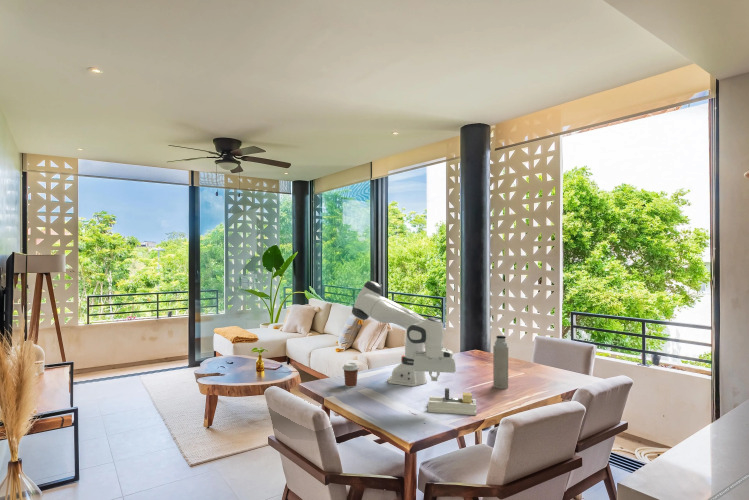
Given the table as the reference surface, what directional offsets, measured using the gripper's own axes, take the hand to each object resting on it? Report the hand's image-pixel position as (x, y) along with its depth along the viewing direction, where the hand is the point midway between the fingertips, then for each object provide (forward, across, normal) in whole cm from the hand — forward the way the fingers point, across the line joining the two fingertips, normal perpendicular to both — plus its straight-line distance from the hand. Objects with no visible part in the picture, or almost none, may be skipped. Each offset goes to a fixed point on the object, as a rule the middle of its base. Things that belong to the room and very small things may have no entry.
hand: (434, 380), depth 211 cm
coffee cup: (+13, -47, +26) cm, 56 cm away
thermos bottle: (+13, +35, +40) cm, 55 cm away
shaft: (+11, +9, 0) cm, 14 cm away
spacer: (+11, +15, -1) cm, 19 cm away
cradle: (+13, +8, 0) cm, 15 cm away
